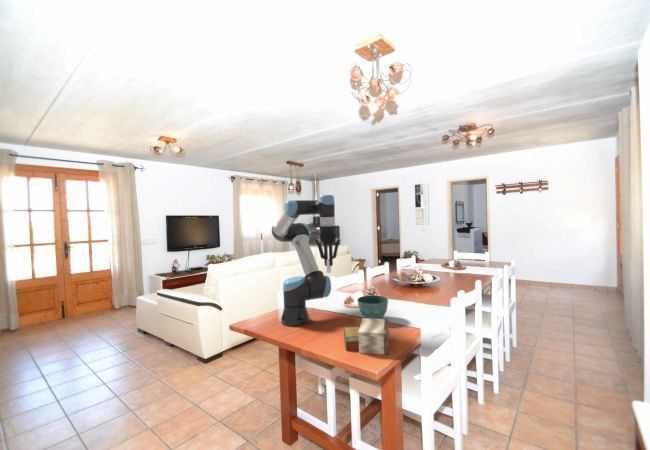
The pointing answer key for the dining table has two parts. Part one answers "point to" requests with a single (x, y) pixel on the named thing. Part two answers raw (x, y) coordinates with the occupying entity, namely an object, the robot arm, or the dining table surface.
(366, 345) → the marbled stone block
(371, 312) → the teal bowl
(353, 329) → the carton
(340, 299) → the dining table surface
